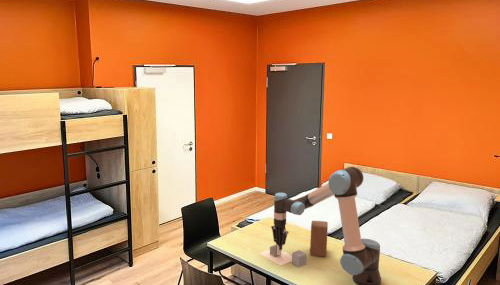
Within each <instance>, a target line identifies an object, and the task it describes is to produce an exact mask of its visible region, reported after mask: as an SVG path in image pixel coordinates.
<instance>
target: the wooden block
mask: <svg viewBox="0 0 500 285" xmlns="http://www.w3.org/2000/svg"><path fill="white" fill-rule="evenodd" d="M328 226H329V224H328V221H324V220H322V221H321V220H311V225H310V243H309V244H310V246H309V247H310V248H309V251H310V252H309V255H310V256H315V257H323V258H326V256H327V248H328V245H327V244H328Z"/></svg>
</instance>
